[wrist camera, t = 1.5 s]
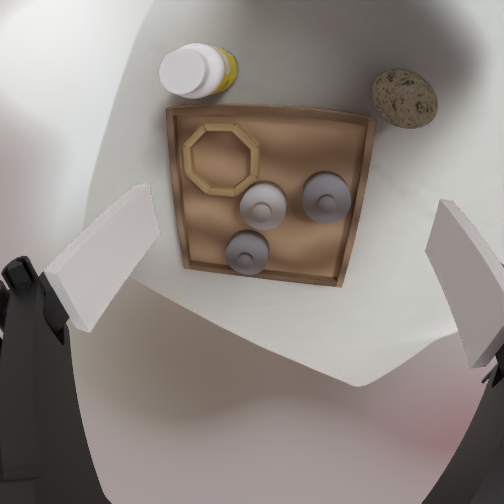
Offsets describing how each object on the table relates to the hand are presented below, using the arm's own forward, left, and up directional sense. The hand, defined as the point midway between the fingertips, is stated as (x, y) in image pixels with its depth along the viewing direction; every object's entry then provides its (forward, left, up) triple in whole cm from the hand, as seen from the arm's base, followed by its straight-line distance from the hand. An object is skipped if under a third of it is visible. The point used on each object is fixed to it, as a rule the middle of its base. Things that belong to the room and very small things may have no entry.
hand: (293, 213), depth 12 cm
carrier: (+9, -3, -21) cm, 23 cm away
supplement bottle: (-6, -9, -21) cm, 24 cm away
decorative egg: (-5, +10, -21) cm, 24 cm away
